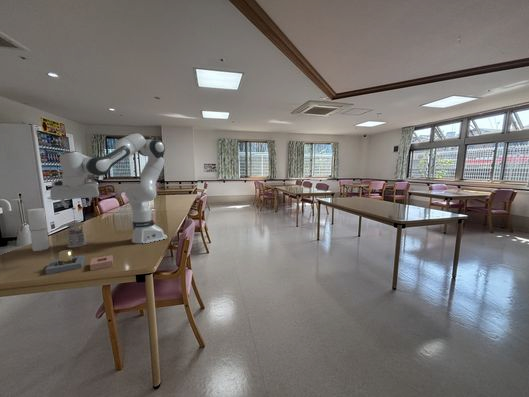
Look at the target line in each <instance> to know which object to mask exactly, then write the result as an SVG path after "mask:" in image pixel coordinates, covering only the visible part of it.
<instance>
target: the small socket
mask: <svg viewBox="0 0 529 397" xmlns="http://www.w3.org/2000/svg"><path fill="white" fill-rule="evenodd" d="M110 267H111V268H112V267H114V256H113V254H111V255H105V256H99V257H93V258H91V259H90V264H89V269H90V271H95V270H101V269H106V268H110Z"/></svg>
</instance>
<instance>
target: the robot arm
mask: <svg viewBox="0 0 529 397" xmlns="http://www.w3.org/2000/svg"><path fill="white" fill-rule="evenodd" d="M165 151H166V146H165V143H164V142H163V141H162V140H160V139H149V140H146V138H145V137H144V136H143V135H142V134H141V133H138V132H137V133H132V134H129V135H127V136H124V137H121V138H120V139H118V140H117V141H116V142H115V143H114V150H113V151H111V152H109V153H107V154H106V155H104V156H97V157H95V156H94V157H91V156H87V155H85V154H82V153H81V152H79V151H77V150H73V151H66V152H65V151H64V152H62V153H61V154H60V156H59V164H60V170H61V171H62V174H61V177H62V179H58V180H55V181H54V180H53V181H52V182H51V186H52V187H51V188H50V200H52V201H60V202H61V204H62V205H63V206H64V208H65V209H68V208H69V203H66V202H65V200H77V199H86V198H88V200H89V201H88V202H86V206H87V207H89V206H91V202H92V200H93V198H98V197H99V196H100V191H99V188H100V187H99V186H100V185H99V182H97V181H96V180H85V175H90V176H91V175H92V176H93V175H94V176H99V177H100V176H105V175H107V174H109V172H110V171H111V169H112V168H113V166H116V164H118V163H119V162H121V161H122V160H123V159H125V158H127V157H130V156H132V155H134V154H136V153H138V154H140V155H141V156H143V157H147V161H146V163H145V165H144V167H143V169H142V171H141V173H140V174H139V178H140V183H139V184H132V185H128V186H127V187H126V188H125V190H124V195H125V197H126V198H127V199H128V200H127V201H128V202H129V204H130V208H131V212H132V223H131V225H132V230H133V231H132V238H131V243H134V244H142V243H143V244H142V245H144V244H145V243H146V244H148V243H149V244H150V242H151V243H155V242H159V240H160V241H164V240H163V239H165V240H167V239H168V235H167V234H165V233H164V230H163V229H162V227H159V226H158V225H156V224H157V222H156V221H155V220H154V219H152V214H151V213H152V212H151V208H150V207H149V205H148V202H152V201H154V200H155V199H156V197H157V190H156V185H157V183H158V182H157V181H158V179H159V177H160V175H161V173H162V171H163V168H164V165H165V159H164V158H163V157H164V155H165ZM166 238H167V239H166ZM154 241H155V242H154ZM146 244H145V245H146Z"/></svg>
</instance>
